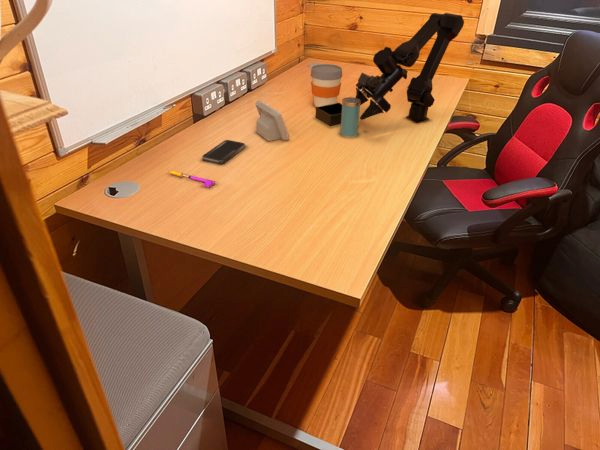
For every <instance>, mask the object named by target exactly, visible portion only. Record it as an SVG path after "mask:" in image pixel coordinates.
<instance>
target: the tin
mask: <svg viewBox="0 0 600 450" xmlns="http://www.w3.org/2000/svg"><path fill="white" fill-rule="evenodd" d="M360 102H361V100H360V99H358V98H355V96H354V97H352V96H348V97H343V98H342V99H341V104H342V114H341V124H340V128H339V129H340V130H339V131H340V132H339V134H340V135H341V136H343V137H349V138H351V137H356V136H357V135H358V133H359V121H360V111H361V105H360Z"/></svg>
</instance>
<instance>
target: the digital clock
mask: <svg viewBox="0 0 600 450" xmlns="http://www.w3.org/2000/svg"><path fill="white" fill-rule="evenodd" d="M255 108H256V110H257V113H258V115H259V118H257V119H256V122H255V127H256V128H255V129H256V133H257V134H258V135H259V136H261V137H262V138H263V139H265V140H266V141H268V142H271V141H276V140H282V141H289V140H290V134H289V131H288V129H287V125H286V124H285V121H284V117H283V115H282V113H281V112H280V111H278V110H277V109H275V108H274V107H272V106H271V105H269V104H267V103H266V102H264V101H263V100H256V101H255Z"/></svg>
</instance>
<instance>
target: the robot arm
mask: <svg viewBox="0 0 600 450" xmlns="http://www.w3.org/2000/svg"><path fill="white" fill-rule="evenodd" d="M463 17H464V16H463V15H462V14H455V13H449V12H445V13H443V14H442V13H437V12H434V13H431V14H430V16H429V17H428V20H427V21H426V22H425V23H424V24H423V25H422V26H420V28H419V29H418V30H417V31H416V33H414V35H413V36H412V37H411V38H410V39H409V40H407V41H404V42H402V43H401V44H400V45H397V47H396V48H395V49H394V50H393V49H392V48H391V47H389V46H385V47H383V49H380V50H379V51H377V52H376V53H375V54H374V55H373V58H372V61H373V63H374V65H375V66H376V67H377V69H378V70H379V71H380V73H381V75H375V76H374V75H369V74H366V73H364V72H361V73H360V75H359V78H358V79H357V83H356V84H355V91H356V93H355V94H356V95H355V96H354V98H358V99H360V100H361V102H360V106H362V105H364V104H365V103H366V102H368V101H369V105H368V106H367V107H366V108H365V110H364V111H363V112H362V114H361V115H360V116H359V120H360V121H363V120H366V119H368V118H371V117H373V116H377V115H379V114H384V112H385V113H388V112H389V111H390V110H391V106H392V105H391V103H390V102H389V101H388V100H387V99H386V98H385V96H386V95H387V94H388V93H389V92H390V93H392V92H393V91H394V89H393V88H394V87H395V85H397V83H399V82H400V80H401V79H402V78H403V79H404V80H407V78H408V70H407V69H405V68H403V67H406V68H411V67H413V66H414V65H415V63H416V62H417V60H418V59H419V58H420V52H421V50H423V48H424V46H426V45H427V44H428V42H429V41H430V40H431V39H432V38H433V37H434V36H435V35H436V37H435V40H434V43H433V44H432V47H431V49H430V51H429V54H428V56H427V57H426V59H425V62H424V64H423V66H422V69H421V71H420V73H419V74H418V76H416V77H414V76H413V77H412V78H411V79H410V82H409V84H408V86H407V88H406V98H407V102H408V103H410V108H409V110H408V111H409V113H408V115H407V116H405V118H406V119H407V120H409V121H412V122H414V123H417V124H420V123H423V122H427V121H430V118H429V117H428V112H429V108H431V107H432V106H433V105H434V103H435V98H434V96H433V95H432V92H433V87H434V86H433V79H434V77H435V75H436V72H437V70H438V68H439V66H440V64H441V62H442V60H443V57H444V56H445V53H446V51H447V49H448V47H449V45H450V42H452V41H453V40H455V39H456V38H457V37H458V36H459V34H460V33H461V31H462V29H463V27H464V25H465V20H464V18H463ZM369 99H370V100H369Z"/></svg>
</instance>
